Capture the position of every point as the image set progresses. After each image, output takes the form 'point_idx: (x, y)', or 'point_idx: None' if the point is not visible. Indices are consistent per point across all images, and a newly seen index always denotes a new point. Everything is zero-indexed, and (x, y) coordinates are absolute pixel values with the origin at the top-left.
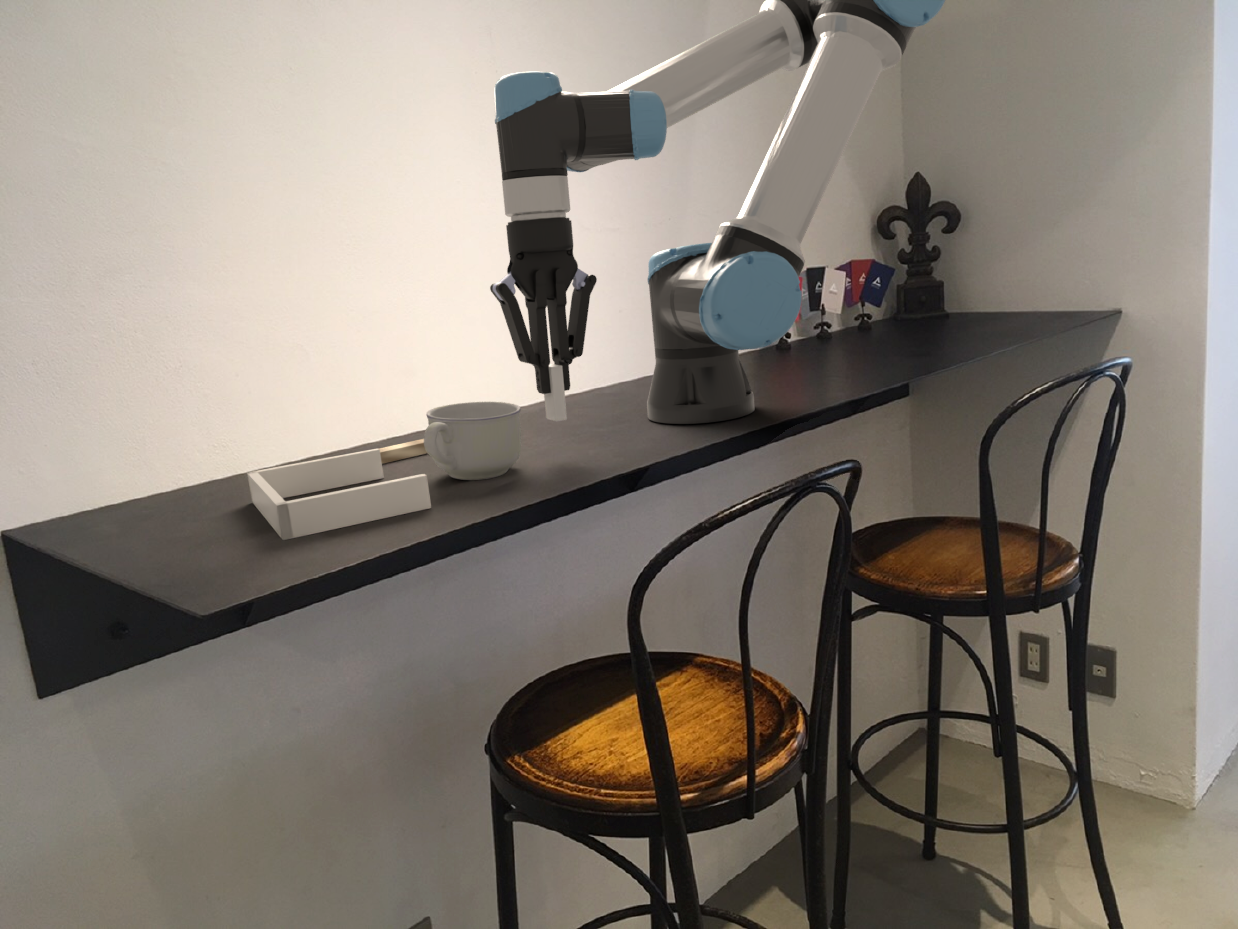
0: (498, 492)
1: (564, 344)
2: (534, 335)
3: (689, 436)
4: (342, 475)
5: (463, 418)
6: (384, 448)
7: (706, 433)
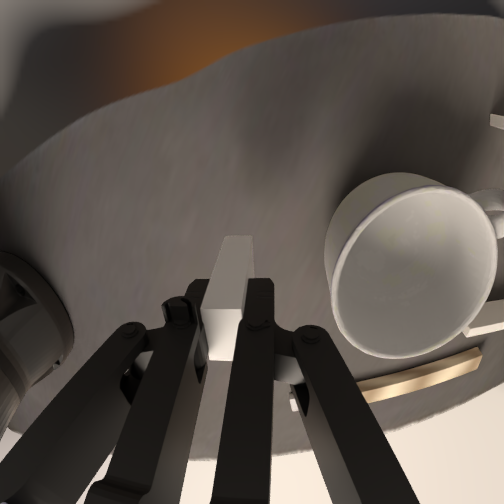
0: (412, 102)
1: (167, 357)
2: (272, 420)
3: (46, 210)
4: (492, 308)
5: (392, 335)
6: (404, 390)
7: (28, 210)
